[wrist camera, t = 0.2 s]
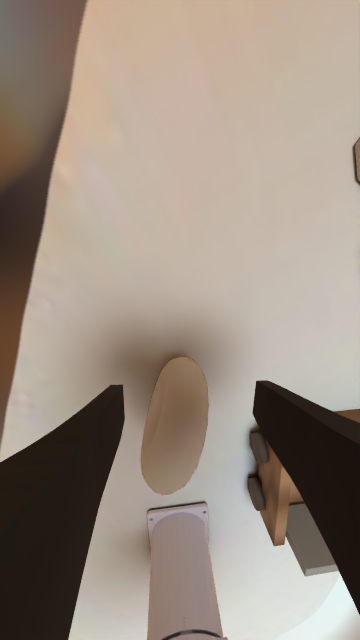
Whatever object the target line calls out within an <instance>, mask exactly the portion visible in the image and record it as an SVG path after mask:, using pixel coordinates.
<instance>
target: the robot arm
mask: <svg viewBox="0 0 360 640" xmlns="http://www.w3.org/2000/svg"><path fill="white" fill-rule="evenodd" d="M253 415H254V418H255V420H256V422H257V424H258V426H259V428H260V430H261V432H262V434H263V435H264V437H265V439H266V440H267V442H268V443H269V445H270V447H271V448H272V450H273V451H274V453H275V454H276V456H277V458H278V459H279V461H280V462H281V464H282V465H283V467H284V469H285V470H286V472H287V473H288V475H289V476H290V478H291V480H292V481H293V483H294V485H295V486H296V488H297V490H298V491H299V493H300V495H301V497H302V499H303V501H304V503H305V505H306V506H307V508H308V510H309V512H310V514H311V516H312V518H313V520H314V522H315V524H316V526H317V527H318V529H319V531H320V533H321V535H322V537H323V539H324V541H325V543H326V545H327V547H328V549H329V551H330V553H331V555H332V557H333V559H334V561H335V564H336V566H337V568H338V570H339V572H340V574H341V576H342V578H343V580H344V582H345V584H346V586H347V589H348V591H349V593H350V595H351V597H352V599H353V601H354V603H355V606H356V608H357V610H358V612H359V614H360V423H359V422H357V421H354V420H351V419H349V418H346V417H344V416H342V415H339V414H337V413H335V412H333V411H330V410H328V409H326V408H324V407H322V406H319V405H317V404H315V403H313V402H311V401H309V400H307V399H305V398H303V397H301V396H299V395H297V394H295V393H293V392H291V391H289V390H287V389H285V388H283V387H281V386H279V385H277V384H274V383H272V382H270V381H256V388H255V397H254V406H253ZM124 420H125V417H124V397H123V385H110V386H109V387H108V388H106V389H105V390H104V391H103V392H102V393H101V394H99V395H98V396H97V397H96V398H95V399H93V400H92V401H91V402H90V403H89V404H87V405H86V406H85V407H84V408H83V409H81V410H80V411H79V412H77V413H76V414H75V415H73V416H72V417H71V418H69V419H68V420H67V421H65V422H64V423H63V424H61V425H60V426H59V427H57V428H56V429H54V430H53V431H51V432H50V433H48V434H47V435H45V436H44V437H42V438H41V439H39V440H38V441H36V442H34V443H33V444H31V445H30V446H28V447H26V448H25V449H23V450H21V451H19V452H18V453H16V454H14V455H12V456H11V457H9V458H7V459H5V460H4V461H2V462H0V640H68V638H69V633H70V629H71V624H72V620H73V615H74V611H75V606H76V602H77V597H78V593H79V588H80V584H81V579H82V575H83V571H84V567H85V562H86V558H87V554H88V549H89V545H90V541H91V537H92V533H93V529H94V525H95V521H96V516H97V512H98V508H99V505H100V501H101V498H102V495H103V491H104V488H105V485H106V482H107V479H108V476H109V473H110V470H111V467H112V464H113V461H114V458H115V455H116V452H117V449H118V446H119V442H120V439H121V434H122V430H123V425H124ZM147 521H148V530H149V540H150V549H151V570H150V591H149V612H148V632H147V640H228V638H227V637H224V638H223V632H222V626H221V620H220V614H219V608H218V602H217V596H216V590H215V584H214V578H213V572H212V566H211V560H210V554H209V548H208V507H207V504H205V503H202V504H194V505H187V506H179V507H172V508H164V509H157V510H150V511H148V513H147Z"/></svg>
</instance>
